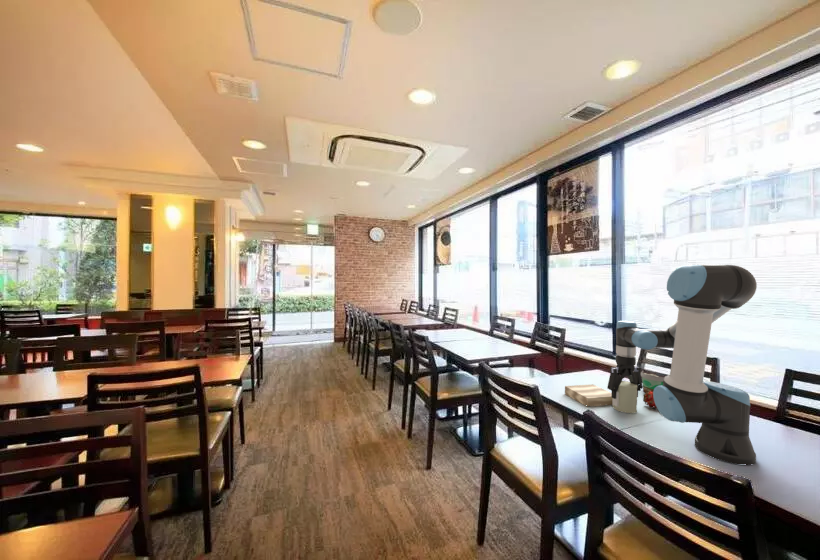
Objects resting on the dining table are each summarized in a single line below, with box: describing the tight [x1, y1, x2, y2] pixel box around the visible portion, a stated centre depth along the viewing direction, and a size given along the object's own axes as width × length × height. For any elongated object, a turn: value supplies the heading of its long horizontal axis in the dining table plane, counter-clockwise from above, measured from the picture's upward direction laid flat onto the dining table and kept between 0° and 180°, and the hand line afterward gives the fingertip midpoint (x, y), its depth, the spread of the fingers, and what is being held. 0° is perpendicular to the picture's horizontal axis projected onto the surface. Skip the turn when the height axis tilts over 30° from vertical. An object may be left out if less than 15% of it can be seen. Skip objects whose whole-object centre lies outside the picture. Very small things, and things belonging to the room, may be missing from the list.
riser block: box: [564, 384, 613, 407], centre depth 159 cm, size 16×16×4 cm
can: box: [612, 380, 638, 414], centre depth 147 cm, size 9×9×12 cm
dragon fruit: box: [642, 391, 658, 410], centre depth 149 cm, size 8×8×12 cm
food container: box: [640, 370, 665, 393], centre depth 166 cm, size 12×6×10 cm, turn 25°
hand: (624, 404), depth 147 cm, fingers closed on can, 9 cm apart
